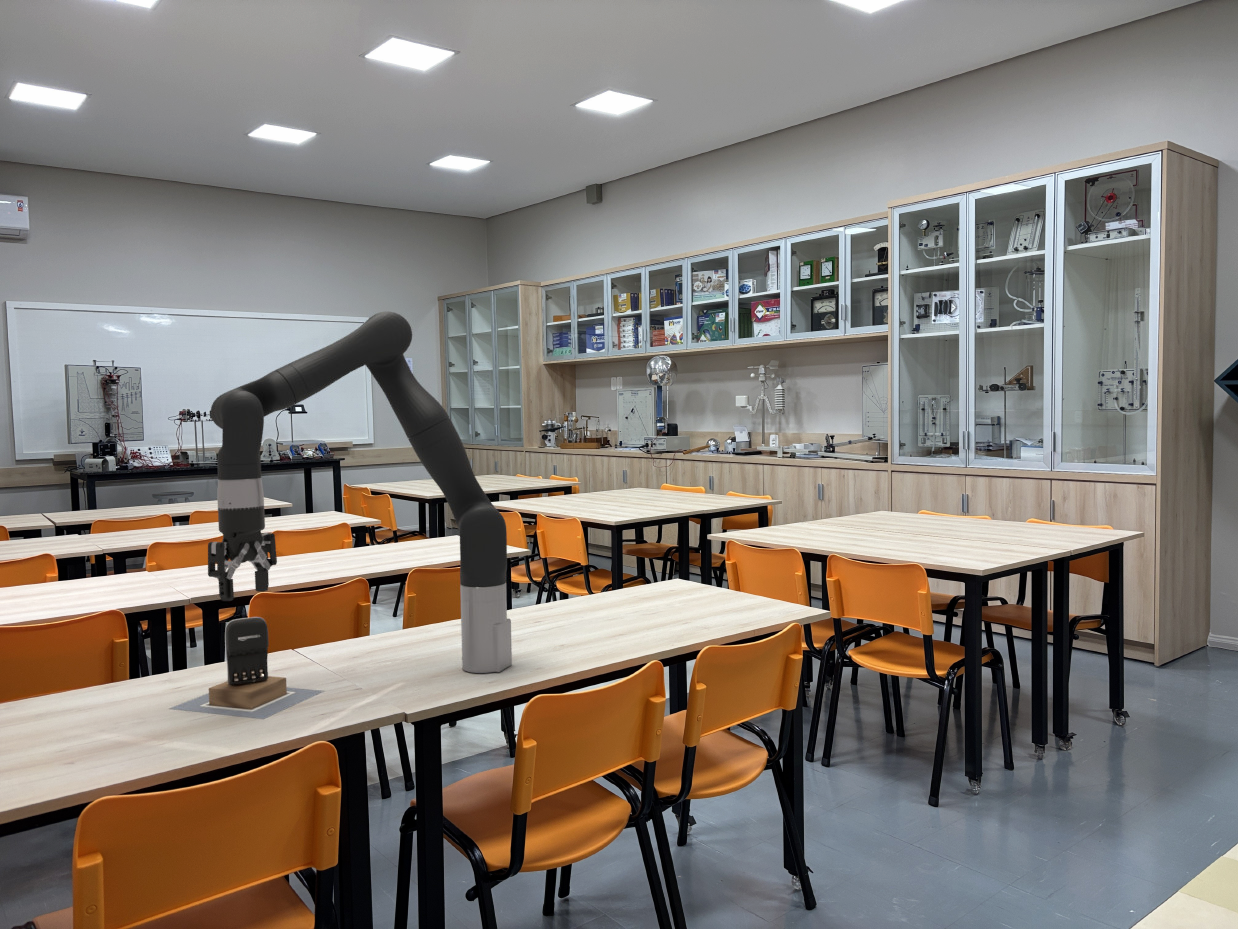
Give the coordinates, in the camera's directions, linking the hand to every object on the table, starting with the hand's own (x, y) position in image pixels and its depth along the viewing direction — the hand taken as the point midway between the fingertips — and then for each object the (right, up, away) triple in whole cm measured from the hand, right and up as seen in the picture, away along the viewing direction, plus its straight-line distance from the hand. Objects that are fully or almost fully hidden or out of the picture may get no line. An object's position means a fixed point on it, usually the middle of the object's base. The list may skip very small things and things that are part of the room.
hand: (245, 595), depth 154 cm
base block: (0, -19, +1) cm, 19 cm away
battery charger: (0, -16, +1) cm, 16 cm away
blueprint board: (0, -20, +1) cm, 20 cm away
